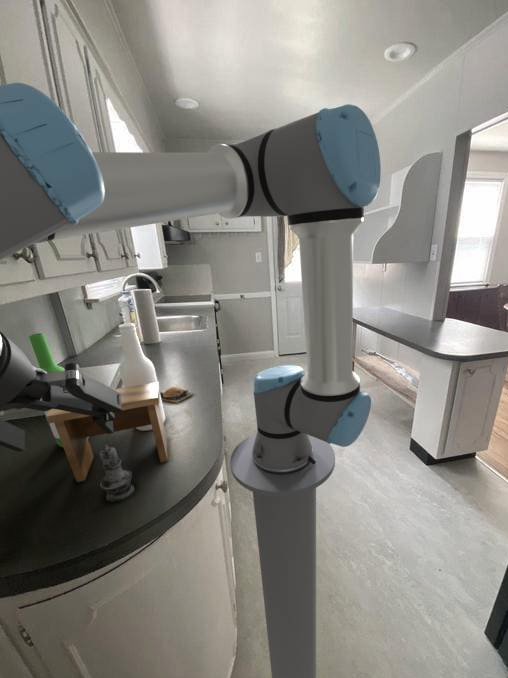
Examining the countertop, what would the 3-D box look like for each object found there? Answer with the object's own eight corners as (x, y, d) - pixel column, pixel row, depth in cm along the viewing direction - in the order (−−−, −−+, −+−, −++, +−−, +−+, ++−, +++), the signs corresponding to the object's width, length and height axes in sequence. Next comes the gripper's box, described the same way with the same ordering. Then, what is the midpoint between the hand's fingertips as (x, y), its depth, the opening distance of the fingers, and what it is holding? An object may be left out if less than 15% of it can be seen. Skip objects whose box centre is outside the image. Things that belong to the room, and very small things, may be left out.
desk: (172, 460, 74) (157, 397, 68) (71, 483, 67) (45, 416, 61) (170, 439, 83) (158, 382, 76) (82, 458, 76) (59, 397, 70)
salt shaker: (138, 481, 67) (125, 435, 63) (131, 500, 62) (116, 451, 57) (110, 484, 67) (95, 438, 62) (100, 504, 61) (82, 455, 57)
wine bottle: (93, 431, 88) (60, 329, 77) (87, 445, 82) (49, 336, 70) (62, 437, 86) (23, 333, 74) (53, 452, 79) (8, 340, 68)
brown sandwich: (194, 395, 110) (193, 385, 109) (176, 404, 103) (174, 394, 102) (173, 390, 115) (172, 381, 113) (155, 398, 108) (153, 389, 106)
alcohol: (153, 414, 97) (131, 320, 85) (172, 420, 93) (151, 322, 81) (128, 427, 90) (100, 326, 78) (147, 434, 86) (120, 329, 74)
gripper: (-300, 436, 18) (-37, 480, 38) (115, 376, 26) (156, 439, 45) (-259, 332, 21) (-32, 424, 41) (108, 304, 28) (150, 394, 48)
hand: (67, 432), depth 43 cm, fingers open, 10 cm apart
